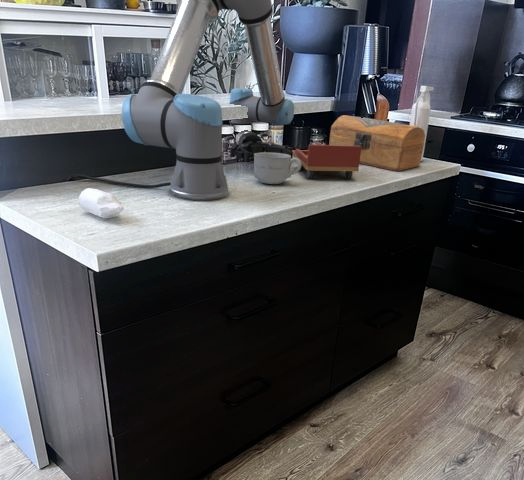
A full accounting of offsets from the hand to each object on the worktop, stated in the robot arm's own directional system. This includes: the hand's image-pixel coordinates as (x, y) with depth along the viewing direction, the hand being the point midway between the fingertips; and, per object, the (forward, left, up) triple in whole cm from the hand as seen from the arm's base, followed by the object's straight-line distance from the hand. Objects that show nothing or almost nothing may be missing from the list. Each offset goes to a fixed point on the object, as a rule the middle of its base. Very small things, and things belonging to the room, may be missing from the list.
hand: (270, 157), depth 155 cm
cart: (+19, +7, -6) cm, 21 cm away
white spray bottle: (+59, +31, -6) cm, 67 cm away
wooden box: (+42, +27, -6) cm, 51 cm away
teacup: (+1, -6, -6) cm, 9 cm away
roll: (-44, -41, -6) cm, 60 cm away
